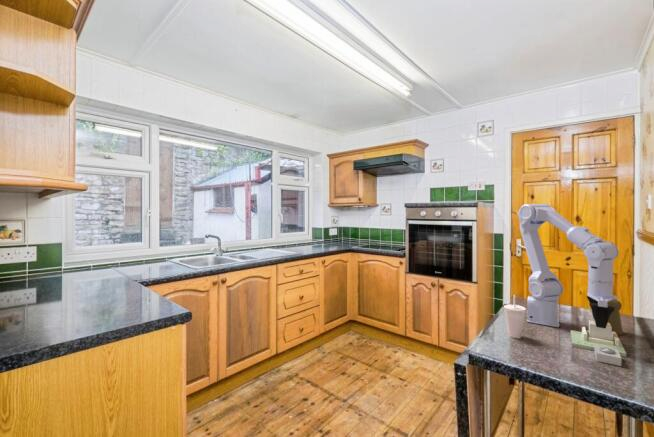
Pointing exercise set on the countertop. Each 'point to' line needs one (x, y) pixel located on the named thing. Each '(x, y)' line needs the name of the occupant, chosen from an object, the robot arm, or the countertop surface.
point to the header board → (595, 341)
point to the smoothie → (514, 319)
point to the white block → (600, 331)
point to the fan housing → (607, 355)
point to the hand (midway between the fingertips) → (599, 323)
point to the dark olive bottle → (615, 317)
